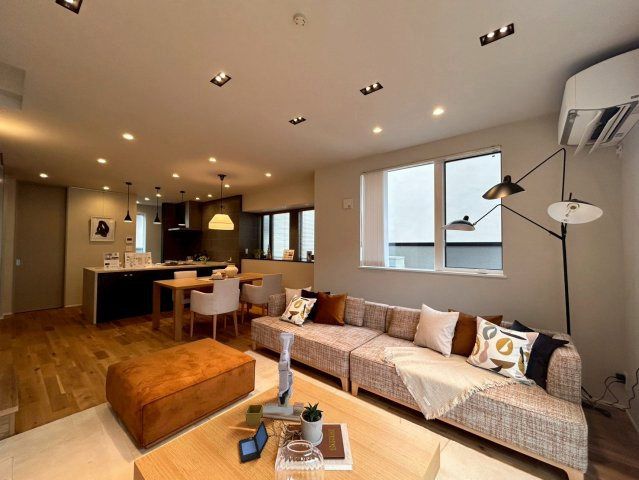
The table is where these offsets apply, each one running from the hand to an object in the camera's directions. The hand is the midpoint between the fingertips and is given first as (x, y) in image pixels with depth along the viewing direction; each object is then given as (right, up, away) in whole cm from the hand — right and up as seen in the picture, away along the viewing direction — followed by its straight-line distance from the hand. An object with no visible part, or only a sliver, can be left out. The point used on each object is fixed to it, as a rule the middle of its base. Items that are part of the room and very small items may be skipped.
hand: (283, 402), depth 168 cm
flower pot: (-16, -7, -10) cm, 20 cm away
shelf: (+1, -7, 0) cm, 7 cm away
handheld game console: (-12, -6, -30) cm, 33 cm away
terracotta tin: (+10, -6, -3) cm, 12 cm away
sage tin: (0, -2, 0) cm, 2 cm away
